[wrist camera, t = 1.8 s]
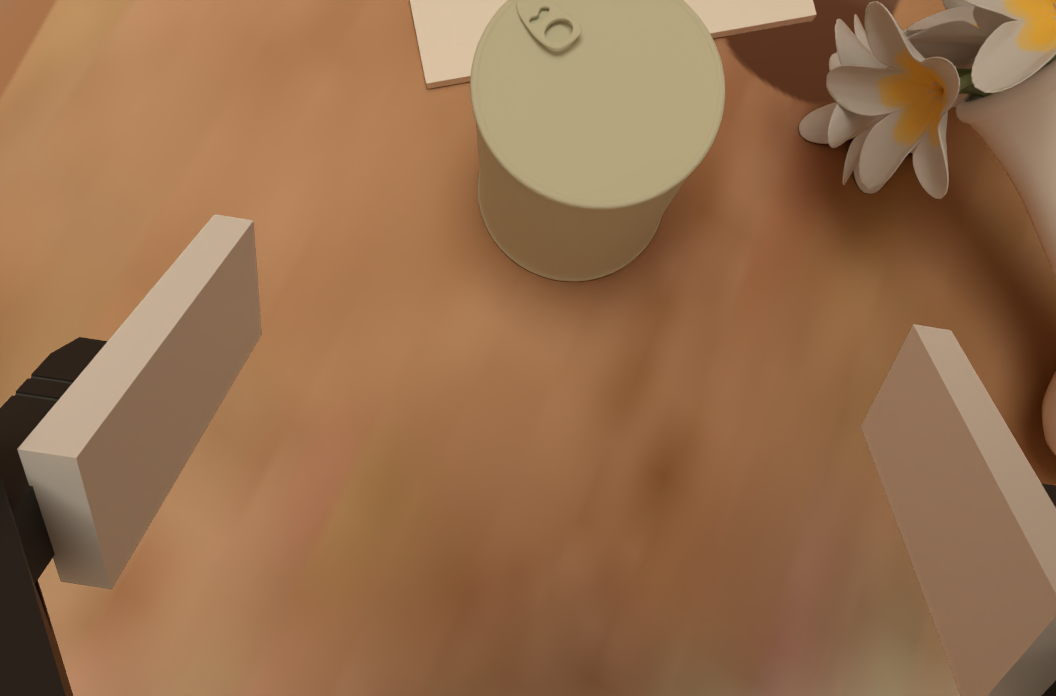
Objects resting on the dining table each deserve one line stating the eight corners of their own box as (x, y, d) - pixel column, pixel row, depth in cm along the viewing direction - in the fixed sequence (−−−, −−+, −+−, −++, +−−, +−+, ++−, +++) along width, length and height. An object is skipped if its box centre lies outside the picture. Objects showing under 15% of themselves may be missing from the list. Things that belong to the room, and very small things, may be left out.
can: (578, 66, 41) (608, -94, 29) (702, 199, 41) (785, 90, 29) (439, 181, 40) (413, 64, 28) (564, 320, 40) (591, 259, 28)
